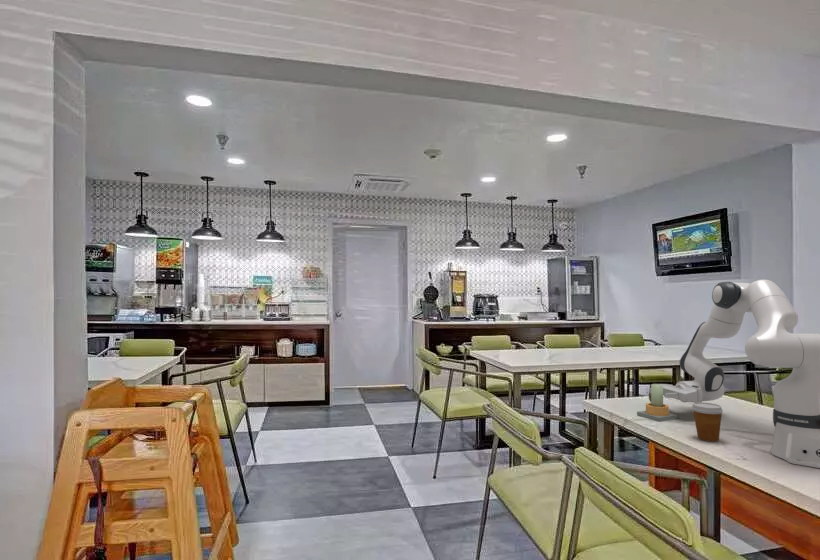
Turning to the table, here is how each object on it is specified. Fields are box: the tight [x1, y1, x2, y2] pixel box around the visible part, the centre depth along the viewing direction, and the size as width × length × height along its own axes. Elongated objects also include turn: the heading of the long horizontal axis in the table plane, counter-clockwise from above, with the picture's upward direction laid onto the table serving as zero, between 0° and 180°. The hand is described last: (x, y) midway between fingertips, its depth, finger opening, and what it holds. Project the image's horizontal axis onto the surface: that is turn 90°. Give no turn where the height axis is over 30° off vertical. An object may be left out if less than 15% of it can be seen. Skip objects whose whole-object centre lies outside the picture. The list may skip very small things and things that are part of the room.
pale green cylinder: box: [650, 383, 664, 407], centre depth 190 cm, size 4×4×12 cm
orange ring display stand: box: [636, 402, 679, 422], centre depth 190 cm, size 11×11×5 cm
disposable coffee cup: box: [691, 401, 724, 442], centre depth 160 cm, size 10×10×12 cm
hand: (657, 393), depth 191 cm, fingers open, 8 cm apart
